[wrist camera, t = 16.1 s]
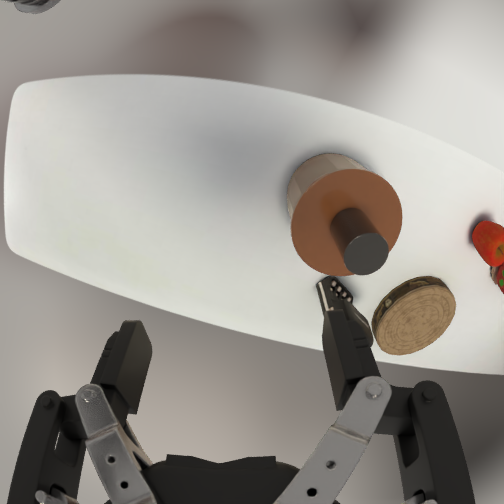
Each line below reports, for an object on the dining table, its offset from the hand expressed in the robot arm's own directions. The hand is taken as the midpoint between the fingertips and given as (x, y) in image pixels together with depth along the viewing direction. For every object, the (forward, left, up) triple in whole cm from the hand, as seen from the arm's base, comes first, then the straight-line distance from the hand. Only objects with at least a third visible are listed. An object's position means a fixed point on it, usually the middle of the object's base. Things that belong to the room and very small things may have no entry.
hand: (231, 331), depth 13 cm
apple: (+10, +37, -27) cm, 47 cm away
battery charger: (+19, +12, -27) cm, 35 cm away
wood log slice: (+26, +27, -27) cm, 46 cm away
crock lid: (+4, +10, -18) cm, 21 cm away
